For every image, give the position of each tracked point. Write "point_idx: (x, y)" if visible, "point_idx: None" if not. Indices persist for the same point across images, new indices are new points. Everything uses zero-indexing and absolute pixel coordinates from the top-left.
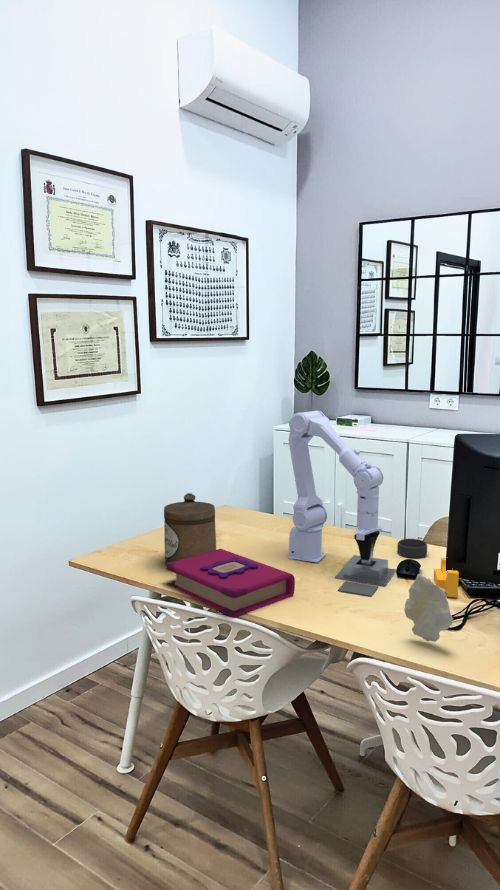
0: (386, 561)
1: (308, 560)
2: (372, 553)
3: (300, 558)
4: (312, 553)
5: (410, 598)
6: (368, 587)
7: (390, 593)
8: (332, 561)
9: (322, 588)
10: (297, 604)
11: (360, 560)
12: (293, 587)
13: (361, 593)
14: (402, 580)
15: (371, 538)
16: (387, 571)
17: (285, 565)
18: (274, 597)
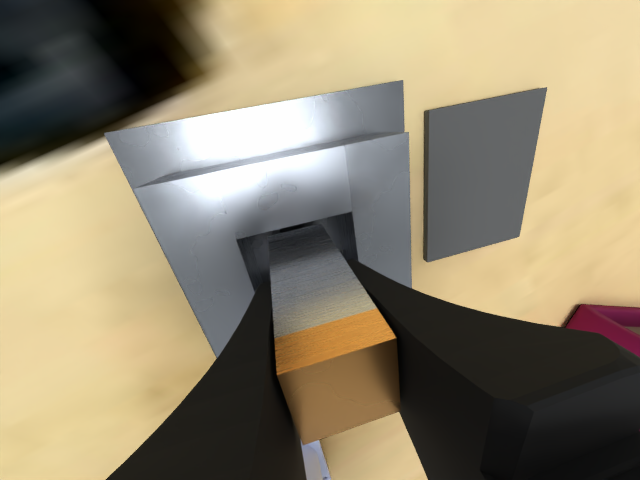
0: (181, 183)
1: (320, 444)
2: (296, 282)
3: (322, 463)
4: (310, 472)
5: None
6: (459, 147)
7: (472, 9)
8: None
9: (500, 284)
10: (624, 266)
11: None
12: (610, 322)
13: (534, 140)
14: (236, 18)
15: (628, 401)
16: (191, 165)
17: (367, 448)
18: (624, 322)
